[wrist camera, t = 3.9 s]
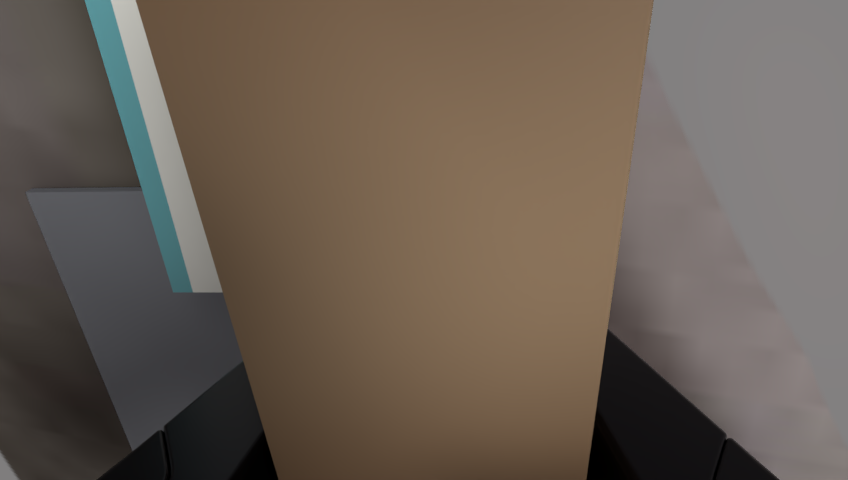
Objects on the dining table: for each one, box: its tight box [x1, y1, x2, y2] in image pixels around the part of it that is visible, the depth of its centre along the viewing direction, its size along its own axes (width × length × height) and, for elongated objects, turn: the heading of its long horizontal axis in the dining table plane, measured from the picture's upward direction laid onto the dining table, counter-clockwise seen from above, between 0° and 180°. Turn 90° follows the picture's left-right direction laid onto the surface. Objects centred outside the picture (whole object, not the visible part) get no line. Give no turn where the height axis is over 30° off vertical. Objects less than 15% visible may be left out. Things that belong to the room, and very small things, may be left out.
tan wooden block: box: [136, 0, 654, 480], centre depth 7 cm, size 14×3×5 cm, turn 3°
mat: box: [25, 187, 243, 451], centre depth 24 cm, size 16×7×1 cm, turn 2°
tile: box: [85, 0, 223, 292], centre depth 14 cm, size 12×2×8 cm, turn 2°
